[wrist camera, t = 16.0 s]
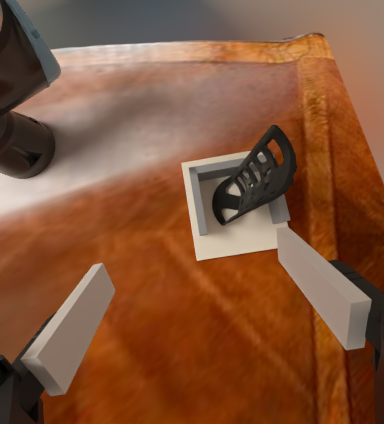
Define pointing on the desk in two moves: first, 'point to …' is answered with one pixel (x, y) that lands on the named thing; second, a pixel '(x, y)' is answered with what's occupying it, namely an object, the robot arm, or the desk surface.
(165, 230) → the desk surface
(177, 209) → the desk surface
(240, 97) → the desk surface
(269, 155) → the holder
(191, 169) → the bay
